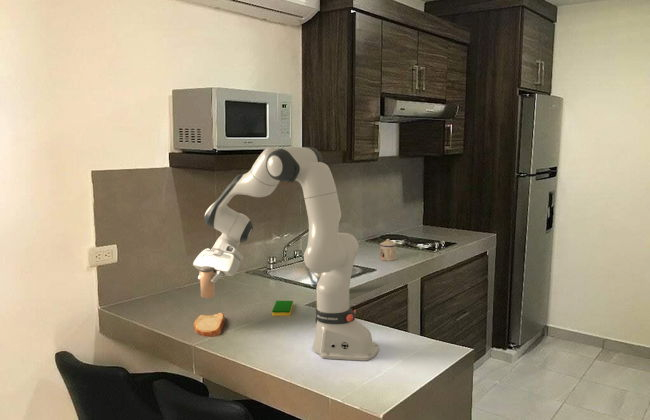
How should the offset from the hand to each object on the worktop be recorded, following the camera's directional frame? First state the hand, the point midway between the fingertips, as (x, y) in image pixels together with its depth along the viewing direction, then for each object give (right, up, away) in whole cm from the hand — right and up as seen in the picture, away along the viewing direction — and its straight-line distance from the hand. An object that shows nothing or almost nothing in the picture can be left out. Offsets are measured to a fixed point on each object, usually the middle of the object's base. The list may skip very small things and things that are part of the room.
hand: (205, 281), depth 209 cm
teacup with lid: (+81, -2, +105) cm, 132 cm away
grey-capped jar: (0, -6, +1) cm, 6 cm away
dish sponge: (+27, -15, +21) cm, 38 cm away
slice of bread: (+2, -18, +3) cm, 19 cm away
